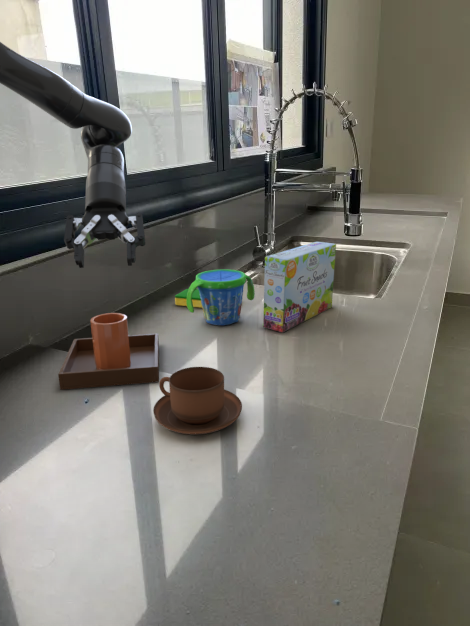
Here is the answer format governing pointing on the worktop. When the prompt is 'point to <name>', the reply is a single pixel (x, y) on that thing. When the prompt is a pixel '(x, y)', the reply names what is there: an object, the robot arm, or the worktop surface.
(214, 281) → the snack cup
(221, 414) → the cup and saucer
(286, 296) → the snack box
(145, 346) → the tray
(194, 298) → the dish sponge
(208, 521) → the worktop surface
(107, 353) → the tumbler
